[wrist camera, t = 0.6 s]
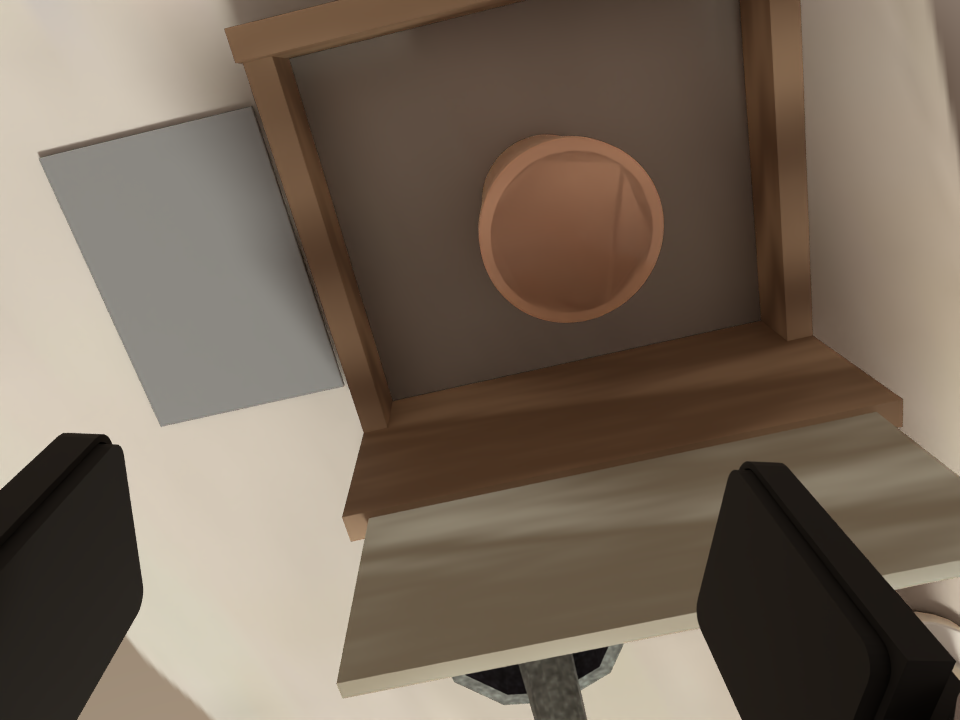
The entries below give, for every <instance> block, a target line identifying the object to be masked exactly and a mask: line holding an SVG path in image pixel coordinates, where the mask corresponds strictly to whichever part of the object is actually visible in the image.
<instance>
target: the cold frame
mask: <svg viewBox="0 0 960 720" xmlns="http://www.w3.org/2000/svg"><path fill="white" fill-rule="evenodd" d="M521 1H525V0H337V1H333V2H329V3H325V4H321V5H317V6H313V7H309V8H305V9H301V10H297V11H293V12H289V13H285V14H281V15H277V16H273V17H269V18H265V19H261V20H257V21H253V22H249V23H245V24H241V25H237V26H233V27H229V28H225V29H224V30H225V33H226V36H227V39H228V42H229V45H230V48H231V51H232V54H233V57H234V60H235V63H243V65H244V68H245V71H246V74H247V77H248V80H249V84H250V87H251V90H252V93H253V96H254V99H255V102H256V105H257V108H258V111H259V114H260V117H261V120H262V123H263V126H264V129H265V132H266V135H267V139H268V142H269V145H270V148H271V151H272V154H273V157H274V160H275V163H276V166H277V169H278V172H279V175H280V178H281V181H282V184H283V187H284V190H285V194H286V197H287V200H288V203H289V206H290V209H291V212H292V215H293V218H294V221H295V224H296V227H297V230H298V233H299V236H300V239H301V242H302V245H303V248H304V252H305V255H306V258H307V261H308V264H309V267H310V270H311V273H312V276H313V279H314V282H315V285H316V288H317V291H318V294H319V297H320V300H321V303H322V307H323V310H324V313H325V316H326V319H327V322H328V325H329V328H330V331H331V334H332V337H333V340H334V343H335V346H336V349H337V352H338V355H339V358H340V362H341V365H342V368H343V371H344V374H345V377H346V380H347V383H348V386H349V389H350V392H351V395H352V398H353V401H354V404H355V407H356V410H357V413H358V417H359V420H360V423H361V426H362V429H363V432H364V434H363V438H362V442H361V446H360V450H359V454H358V458H357V461H356V465H355V469H354V473H353V477H352V481H351V485H350V489H349V493H348V497H347V500H346V504H345V508H344V512H343V516H342V518H343V521H344V524H345V527H346V529H347V532H348V535H349V538H350V540H351V542H352V541H356V540H361V539H365V540H364V546H363V551H362V556H361V561H360V566H359V571H358V576H357V581H356V587H355V592H354V597H353V602H352V607H351V612H350V617H349V623H348V628H347V633H346V638H345V643H344V648H343V653H342V659H341V664H340V669H339V674H338V679H337V686H338V688H339V691H340V693H341V695H342V698H348V697H353V696H358V695H363V694H368V693H373V692H378V691H383V690H389V689H394V688H399V687H404V686H409V685H414V684H419V683H424V682H429V681H434V680H439V679H444V678H450V677H455V676H460V675H465V674H470V673H475V672H480V671H485V670H490V669H495V668H500V667H505V666H511V665H516V664H521V663H526V662H531V661H536V660H541V659H546V658H551V657H556V656H561V655H566V654H572V653H577V652H582V651H587V650H592V649H597V648H602V647H607V646H612V645H617V644H622V643H627V642H633V641H638V640H643V639H648V638H653V637H658V636H663V635H668V634H673V633H678V632H683V631H688V630H694V629H699V628H700V627H699V624H698V620H697V612H696V607H697V600H698V596H699V592H700V588H701V584H702V580H703V576H704V572H705V568H706V564H707V560H708V556H709V552H710V548H711V544H712V540H713V536H714V532H715V528H716V524H717V519H718V515H719V511H720V507H721V503H722V499H723V495H724V491H725V487H726V483H727V479H728V476H729V474H730V473H731V471H733V470H739V468H740V466H741V465H742V464H743V463H744V462H746V461H755V462H779V463H783V464H785V465H786V466H787V467H788V468H789V469H790V470H791V471H792V473H793V474H794V475H795V476H796V477H797V478H798V479H799V481H800V482H801V483H802V484H803V485H804V486H805V488H806V489H807V490H808V491H809V492H810V493H811V494H812V496H813V497H814V498H815V499H816V500H817V501H818V502H819V504H820V505H821V506H822V507H823V508H824V509H825V511H826V512H827V513H828V514H829V515H830V516H831V517H832V519H833V520H834V521H835V522H836V523H837V524H838V526H839V527H840V528H841V529H842V530H843V531H844V532H845V534H846V535H847V536H848V537H849V538H850V539H851V541H852V542H853V543H854V544H855V545H856V546H857V547H858V549H859V550H860V551H861V552H862V553H863V554H864V555H865V557H866V558H867V559H868V560H869V561H870V562H871V564H872V565H873V566H874V567H875V568H876V569H877V570H878V572H879V573H880V574H881V575H882V576H883V577H884V579H885V580H886V581H887V582H888V583H889V584H890V585H891V587H892V588H893V589H894V590H897V589H902V588H907V587H912V586H917V585H922V584H927V583H933V582H938V581H943V580H948V579H953V578H958V577H960V477H959V476H958V475H957V474H956V473H954V472H953V471H952V470H951V469H949V468H948V467H947V466H945V465H944V464H943V463H942V462H940V461H939V460H938V459H936V458H935V457H934V456H933V455H931V454H930V453H929V452H927V451H926V450H925V449H924V448H922V447H921V446H920V445H918V444H917V443H916V442H915V441H913V440H912V439H911V438H909V437H908V436H907V435H906V434H904V433H903V432H902V431H900V430H899V429H898V427H902V424H903V399H902V398H900V397H899V396H898V395H896V394H895V393H893V392H892V391H891V390H889V389H888V388H886V387H885V386H883V385H882V384H881V383H879V382H878V381H876V380H875V379H874V378H872V377H871V376H869V375H868V374H866V373H865V372H864V371H862V370H861V369H859V368H858V367H857V366H855V365H854V364H852V363H851V362H849V361H848V360H847V359H845V358H844V357H842V356H841V355H840V354H838V353H837V352H835V351H834V350H832V349H831V348H830V347H828V346H827V345H825V344H824V343H823V342H821V341H820V340H818V339H817V338H815V337H814V336H813V329H812V302H811V275H810V248H809V220H808V193H807V166H806V139H805V112H804V85H803V58H802V31H801V3H800V0H739V1H740V16H741V31H742V45H743V60H744V75H745V90H746V105H747V120H748V134H749V149H750V164H751V179H752V194H753V208H754V223H755V238H756V253H757V268H758V283H759V297H760V312H761V321H757V322H752V323H748V324H743V325H739V326H734V327H729V328H725V329H720V330H716V331H711V332H707V333H702V334H697V335H693V336H688V337H684V338H679V339H675V340H670V341H665V342H661V343H656V344H652V345H647V346H642V347H638V348H633V349H629V350H624V351H620V352H615V353H610V354H606V355H601V356H597V357H592V358H588V359H583V360H578V361H574V362H569V363H565V364H560V365H556V366H551V367H546V368H542V369H537V370H533V371H528V372H523V373H519V374H514V375H510V376H505V377H501V378H496V379H491V380H487V381H482V382H478V383H473V384H469V385H464V386H459V387H455V388H450V389H446V390H441V391H437V392H432V393H427V394H423V395H418V396H414V397H409V398H404V399H400V400H395V401H392V397H391V394H390V391H389V387H388V384H387V381H386V377H385V374H384V371H383V368H382V364H381V361H380V358H379V354H378V351H377V348H376V344H375V341H374V338H373V335H372V331H371V328H370V325H369V321H368V318H367V315H366V311H365V308H364V305H363V301H362V298H361V295H360V292H359V288H358V285H357V282H356V278H355V275H354V272H353V268H352V265H351V262H350V259H349V255H348V252H347V249H346V245H345V242H344V239H343V235H342V232H341V229H340V225H339V222H338V219H337V216H336V212H335V209H334V206H333V202H332V199H331V196H330V192H329V189H328V186H327V183H326V179H325V176H324V173H323V169H322V166H321V163H320V159H319V156H318V153H317V150H316V146H315V143H314V140H313V136H312V133H311V130H310V126H309V123H308V120H307V116H306V113H305V110H304V107H303V103H302V100H301V97H300V93H299V90H298V87H297V83H296V80H295V77H294V74H293V70H292V67H291V64H290V60H289V59H290V58H294V57H298V56H302V55H306V54H310V53H314V52H318V51H322V50H326V49H330V48H335V47H339V46H343V45H347V44H351V43H355V42H359V41H363V40H367V39H371V38H375V37H379V36H383V35H387V34H391V33H395V32H399V31H404V30H408V29H412V28H416V27H420V26H424V25H428V24H432V23H436V22H440V21H444V20H448V19H452V18H456V17H460V16H464V15H469V14H473V13H477V12H481V11H485V10H489V9H493V8H497V7H501V6H505V5H509V4H513V3H517V2H521Z"/></svg>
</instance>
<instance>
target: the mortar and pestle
mask: <svg viewBox="0 0 960 720" xmlns="http://www.w3.org/2000/svg"><path fill="white" fill-rule="evenodd" d="M623 644H624V643H622V644H617V645H612V646H607V647H602V648H597V649H592V650H587V651H582V652H577V653H572V654H566V655H561V656H556V657H551V658H546V659H541V660H536V661H531V662H526V663H521V664H516V665H511V666H505V667H500V668H495V669H490V670H485V671H480V672H475V673H470V674H465V675H460V676H455V677H452V678H453V680H454V682H455V683H457V684H460V685H462V686H464V687H466V688H468V689H470V690H473V691H475V692H477V693H479V694H481V695H484V696H486V697H488V698H490V699H492V700H494V701H497V702H499V703H501V704H503V705H510V704H526V703H530V706H531V709H532V713H533V716H534V719H535V720H587V717H586V712H585V708H584V703H583V699H582V694H581V690H582V689H584V688H585V687H587V686H589V685H590V684H592V683H594V682H595V681H597V680H599V679H600V678H602V677H604V676H606V675H607V674H609V673H611V670H612V668H613V666H614V664H615V662H616V659H617V657H618V655H619V653H620V651H621V649H622V646H623Z"/></svg>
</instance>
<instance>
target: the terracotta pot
mask: <svg viewBox="0 0 960 720" xmlns="http://www.w3.org/2000/svg"><path fill="white" fill-rule="evenodd" d="M663 231H664V219H663V210H662V205H661V201H660V198H659V195H658V192H657V190H656V188H655V186H654V184H653V182H652V180H651V178H650V177H649V175H648V174H647V173H646V171H645V170H644V169H643V168H642V167H641V165H640V164H639V163H638V162H637V161H636V160H634V159H633V158H632V157H631V156H629V155H628V154H627V153H625V152H623V151H622V150H620V149H618V148H617V147H614V146H612V145H610V144H607V143H605V142H602V141H600V140H596V139H592V138H588V137H581V136H559V135H551V134H543V135H535V136H531V137H528V138H525V139H522V140H520V141H518V142H516V143H515V144H513V145H511V146H510V147H508V148H507V149H506V150H505V151H504V152H503V153H502V154H501V155H500V156H499V157H498V158H497V159H496V161H495V162H494V163H493V165H492V166H491V168H490V170H489V172H488V174H487V177H486V179H485V182H484V186H483V191H482V206H481V210H480V214H479V224H478V235H479V243H480V250H481V256H482V259H483V262H484V266H485V268H486V271H487V273H488V275H489V277H490V279H491V281H492V282H493V284H494V285H495V287H496V288H497V290H498V291H499V292H500V293H501V294H502V296H503V297H504V298H506V299H507V300H508V301H509V302H510V303H511V304H512V305H514V306H515V307H517V308H518V309H519V310H521V311H523V312H525V313H527V314H529V315H531V316H533V317H536V318H539V319H542V320H546V321H551V322H560V323H573V322H581V321H587V320H590V319H594V318H597V317H600V316H602V315H605V314H607V313H609V312H611V311H613V310H614V309H616V308H618V307H619V306H621V305H622V304H623V303H625V302H626V301H628V300H629V299H630V298H631V297H632V296H633V295H634V294H635V293H636V292H637V291H638V290H639V289H640V288H641V286H642V285H643V284H644V283H645V281H646V280H647V278H648V277H649V275H650V274H651V272H652V270H653V268H654V266H655V264H656V262H657V259H658V256H659V253H660V250H661V245H662V240H663Z"/></svg>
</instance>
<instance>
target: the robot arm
mask: <svg viewBox="0 0 960 720" xmlns="http://www.w3.org/2000/svg"><path fill="white" fill-rule="evenodd" d="M142 598H143V583H142V576H141V569H140V562H139V556H138V549H137V542H136V535H135V528H134V521H133V515H132V508H131V501H130V494H129V487H128V480H127V473H126V467H125V460H124V454H123V450H122V448H121V446H119V445H113V444H112V442H111V440H110V439H109V437H108V436H106V435H105V434H81V433H63V434H61V435H59V436H58V437H57V438H56V439H55V440H54V441H52V442H51V443H50V444H49V445H48V446H47V447H46V448H45V449H44V450H43V451H42V452H41V453H40V454H39V455H37V456H36V457H35V458H34V459H33V460H32V461H31V462H30V463H29V464H28V465H27V466H26V467H25V468H23V469H22V470H21V471H20V472H19V473H18V474H17V475H16V476H15V477H14V478H13V479H12V480H11V481H10V482H8V483H7V484H6V485H5V486H4V487H3V488H2V489H1V490H0V720H77V719H78V717H79V715H80V713H81V712H82V710H83V708H84V706H85V705H86V703H87V701H88V699H89V698H90V696H91V694H92V692H93V691H94V689H95V687H96V685H97V684H98V682H99V680H100V679H101V677H102V675H103V673H104V671H105V670H106V668H107V666H108V665H109V663H110V661H111V659H112V657H113V656H114V654H115V652H116V651H117V649H118V647H119V645H120V644H121V642H122V640H123V638H124V637H125V635H126V633H127V631H128V630H129V628H130V626H131V624H132V623H133V621H134V619H135V617H136V616H137V614H138V612H139V610H140V606H141V603H142ZM696 612H697V620H698V624H699V627H700V629H701V631H702V634H703V636H704V638H705V640H706V642H707V644H708V647H709V649H710V651H711V653H712V655H713V658H714V660H715V662H716V664H717V666H718V669H719V671H720V673H721V675H722V677H723V679H724V682H725V684H726V686H727V688H728V690H729V693H730V695H731V697H732V699H733V701H734V704H735V706H736V708H737V710H738V712H739V714H740V717H741V719H742V720H960V626H958V625H957V624H955V623H953V622H952V621H950V620H948V619H946V618H943V617H940V616H937V615H934V614H928V613H922V612H913V611H912V610H911V608H910V607H909V606H908V605H907V604H906V603H905V602H904V600H903V599H902V598H901V597H900V596H899V595H898V593H897V592H896V591H895V590H894V589H893V588H892V587H891V585H890V584H889V583H888V582H887V581H886V580H885V579H884V577H883V576H882V575H881V574H880V573H879V572H878V570H877V569H876V568H875V567H874V566H873V565H872V564H871V562H870V561H869V560H868V559H867V558H866V557H865V555H864V554H863V553H862V552H861V551H860V550H859V549H858V547H857V546H856V545H855V544H854V543H853V542H852V541H851V539H850V538H849V537H848V536H847V535H846V534H845V532H844V531H843V530H842V529H841V528H840V527H839V526H838V524H837V523H836V522H835V521H834V520H833V519H832V517H831V516H830V515H829V514H828V513H827V512H826V511H825V509H824V508H823V507H822V506H821V505H820V504H819V502H818V501H817V500H816V499H815V498H814V497H813V496H812V494H811V493H810V492H809V491H808V490H807V489H806V488H805V486H804V485H803V484H802V483H801V482H800V481H799V479H798V478H797V477H796V476H795V475H794V474H793V473H792V471H791V470H790V469H789V468H788V467H787V466H786V465H785V464H783V463H779V462H755V461H746V462H744V463H743V464H742V465H741V466H740V468H739V470H733V471H731V473H730V474H729V476H728V479H727V483H726V487H725V491H724V495H723V499H722V503H721V507H720V511H719V515H718V519H717V524H716V528H715V532H714V536H713V540H712V544H711V548H710V552H709V556H708V560H707V564H706V568H705V572H704V576H703V580H702V584H701V588H700V592H699V596H698V600H697V607H696Z"/></svg>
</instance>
